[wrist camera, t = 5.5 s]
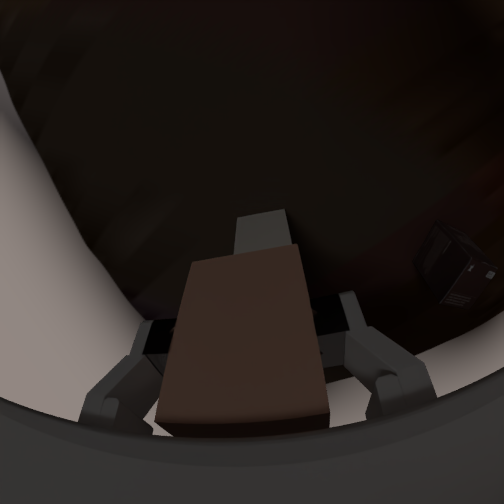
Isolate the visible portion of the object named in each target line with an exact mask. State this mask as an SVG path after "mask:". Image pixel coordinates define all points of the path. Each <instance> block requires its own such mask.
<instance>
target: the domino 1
mask: <svg viewBox="0 0 504 504" xmlns="http://www.w3.org/2000/svg"><path fill="white" fill-rule="evenodd" d="M286 245H292V242H291V237H290V232H289V228H288V223H287V218H286V214H285V209H282V210H276V211H271V212H266V213H260V214H255V215H250V216H244V217H239V218H237V227H236V237H235V248H234V255H235V254H241V253H247V252H252V251H258V250H264V249H269V248H275V247H281V246H286Z"/></svg>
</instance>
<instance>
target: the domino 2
mask: <svg viewBox="0 0 504 504" xmlns="http://www.w3.org/2000/svg"><path fill="white" fill-rule="evenodd" d="M172 338H173V339H172V343H171V347H170V351H169V355H168V358H167V363H166V367H165V372H164V376H163V381H162V386H161V390H160V395H159V400H158V405H157V410H156V415H155V420H154V422H155V423H157V424H158V425H159V426H160V427H162V428H163V429H164V430H166V431H167V432H168V433H170V434H171V435H173V436H174V437H189V438H244V437H261V436H274V435H284V434H293V433H300V432H308V431H314V430H320V429H326V428H329V424H330V409H329V403H328V397H327V390H326V384H325V378H324V372H323V367H322V361H321V356H320V350H319V345H318V339H317V336H316V331H315V326H314V321H313V314H312V309H311V306H310V299H309V294H308V290H307V285H306V280H305V276H304V271H303V267H302V262H301V258H300V254H299V249H298V245H297V244H292V245H286V246H281V247H275V248H269V249H264V250H258V251H252V252H247V253H241V254H235V255H230V256H224V257H218V258H213V259H207V260H201V261H196V262H192V265H191V268H190V272H189V276H188V279H187V283H186V287H185V290H184V294H183V298H182V302H181V305H180V309H179V313H178V317H177V323H176V327H175V329H174V333H173V337H172Z"/></svg>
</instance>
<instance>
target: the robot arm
mask: <svg viewBox="0 0 504 504" xmlns="http://www.w3.org/2000/svg"><path fill="white" fill-rule="evenodd" d="M310 306H311V309H312V314H313V321H314V326H315V331H316V336H317V339H318V345H319V350H320V356H321V361H322V367H323V368H326V367H332V366H337V365H343V364H344V366H345V367H346V368H347V369H348V370H349V371H350V372H351V373H352V374H353V375H354V376H355V377H356V378H357V379H358V380H359V381H360V382H361V383H362V384H363V385H364V386H365V387H366V388H367V389H368V390H369V391H370V392H371V393H372V395H371V398H370V401H369V404H368V407H367V410H366V413H365V414H366V419H367V420H365V421H361V422H357V423H352V424H347V425H343V426H337V427H332V428H326V429H320V430H314V431H308V432H300V433H293V434H284V435H274V436H261V437H244V438H189V437H171V436H159V435H152V433H153V428H152V427H151V426H150V425H149V424H148V423H146V422H145V421H144V420H143V418H144V417H145V416H146V414H147V413H148V411H149V410H150V409H151V408H152V406H153V405H154V403H155V402H156V401H157V399H158V398H159V395H160V390H161V386H162V381H163V376H164V372H165V367H166V363H167V358H168V355H169V351H170V347H171V343H172V339H173V338H172V337H173V333H174V329H175V327H176V323H177V318H174V319H160V320H149V321H143V322H142V323H141V324H140V326H139V329H138V331H137V334H136V337H135V340H134V343H133V346H132V349H131V352H130V355H128V356H127V355H126V356H125V357H124V358H123V359H122V360H121V361H120V362H119V363H118V364H117V365H116V366H115V367H114V368H113V369H112V370H111V371H110V372H109V373H108V374H107V375H106V376H105V377H104V378H103V379H102V380H100V381H99V382H98V383H97V384H96V385H95V386H94V387H93V388H92V389H91V390H90V391H89V392H88V393H87V395H86V398H85V401H84V404H83V407H82V410H81V414H80V417H79V420H78V422H75V421H71V420H67V419H63V418H60V417H56V416H53V415H49V414H46V413H43V412H39V411H36V410H33V409H30V408H28V407H25V406H22V405H19V404H17V403H14V402H11V401H8V400H6V399H4V398H2V397H0V504H504V367H503V368H501V369H499V370H497V371H495V372H494V373H492V374H490V375H488V376H486V377H484V378H482V379H480V380H478V381H476V382H473V383H472V384H469V385H467V386H465V387H463V388H460V389H458V390H456V391H453V392H451V393H448V394H446V395H444V396H441V397H438V398H437V395H436V393H435V390H434V387H433V385H432V382H431V379H430V376H429V374H428V371H427V369H426V366H425V364H424V363H423V362H422V361H421V360H419V359H418V358H416V357H415V356H414V355H412V354H411V353H409V352H408V351H406V350H405V349H404V348H402V347H401V346H399V345H398V344H396V343H395V342H394V341H392V340H391V339H389V338H388V337H386V336H385V335H384V334H382V333H381V332H379V331H378V330H376V329H375V328H374V327H372V326H370V327H367V325H366V322H365V319H364V316H363V314H362V311H361V308H360V306H359V303H358V300H357V298H356V295H355V293H354V292H353V291H348V292H343V293H338V294H333V295H328V296H323V297H318V298H313V299H310Z"/></svg>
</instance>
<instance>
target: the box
mask: <svg viewBox="0 0 504 504" xmlns="http://www.w3.org/2000/svg"><path fill="white" fill-rule="evenodd" d="M413 263H414V265H415V266H416V267H417V269H418V270H419V272H420V273H421V275H422V276H423V278H424V279H425V281H426V283H427V284H428V286H429V287H430V289H431V290H432V292H433V293H434V295H435V296H436V298H437V300H438V302H439V304H442V305H447V306H452V307H457V308H462V309H467V310H469V309H470V307H471V306H472V305H473V304H474V302H475V301H476V300H477V298H478V297H479V296H480V294H481V293H482V291H483V290H484V289H485V287H486V286H487V285H488V283H489V282H490V280H491V279H492V277H493V276H494V274H495V273H496V271H497V267H496V266H495V265H494V264H493V263H492V262H491V260H490V259H489V258H488V257H487V256H486V255H485V254H484V253H483V252H482V250H481V249H480V248H479V247H478V246H477V245H476V244H475V243H474V242H473V241H472V240H471V239H470V238H469V237H468V236H467V235H466V233H464V232H462V231H460V230H458V229H456V228H454V227H452V226H450V225H448V224H446V223H443V222H441V221H439V220H437V221H436V222H435V224H434V226H433V227H432V229H431V231H430V233H429V235H428V237H427V238H426V240H425V242H424V243H423V245H422V247H421V248H420V250H419V252H418V253H417V255H416V257H415V258H414V260H413Z"/></svg>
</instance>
